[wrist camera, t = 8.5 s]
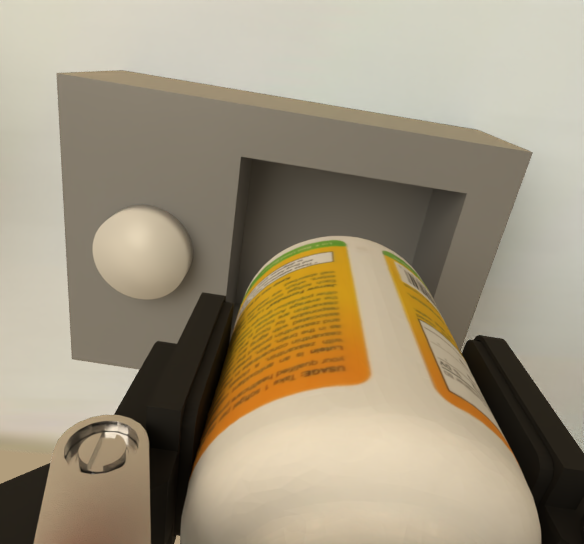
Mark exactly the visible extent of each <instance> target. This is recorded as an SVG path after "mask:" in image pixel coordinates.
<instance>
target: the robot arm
mask: <svg viewBox="0 0 584 544" xmlns="http://www.w3.org/2000/svg"><path fill="white" fill-rule="evenodd" d="M233 307H234V303H230V302H226V296H224V295H217V294H211V293H205V292H202V294H201V295H200V297H199V300H198V302H197V304H196V306H195V308H194V310H193V312H192V314H191V316H190V318H189V320H188V322H187V324H186V326H185V328H184V330H183V332H182V335H181V337H180V339H179V341H178V343H177V344H175V343H169V342H162V341H157V342H156V343H155V344H154V345H153V347H152V349H151V351H150V352H149V354H148V356H147V358H146V359H145V361H144V363H143V365H142V366H141V368H140V370H139V372H138V374H137V375H136V377H135V379H134V381H133V382H132V384H131V386H130V388H129V389H128V391H127V393H126V395H125V396H124V398H123V400H122V402H121V403H120V405H119V407H118V409H117V411H116V412H115V414H114V415H101V416H95V417H91V418H88V419H86V420H83V421H80V422H78V423H77V424H75V425H73V426H72V427H70V428H69V429H67V430H66V431H65V432H64V433H63V435H62V436H61V437H60V438H59V439H58V441H57V443H56V445H55V448H54V450H53V454H52V459H51V463H49V464H47V465H44V466H42V467H39V468H37V469H35V470H32V471H30V472H28V473H25V474H23V475H20V476H18V477H16V478H13V479H11V480H9V481H6V482H4V483H1V484H0V544H174V542H175V539H176V535H179V536H180V531H181V517H182V512H183V507H184V503H185V499H186V495H187V489H188V483H189V479H190V475H191V472H192V468H193V464H194V461H195V457H196V454H197V451H198V448H199V444H200V439H201V436H202V433H203V430H204V426H205V423H206V419H207V416H208V413H209V410H210V407H211V404H212V400H213V397H214V394H215V391H216V387H217V384H218V381H219V378H220V375H221V371H222V368H223V364H224V361H225V357H226V354H227V351H228V347H229V342H230V334H231V325H232V316H233ZM462 356H463V357H464V359H465V361H466V363H467V365H468V367H469V370H470V372H471V374H472V375H473V377H474V379H475V381H476V383H477V385H478V387H479V389H480V391H481V393H482V395H483V397H484V399H485V401H486V403H487V405H488V407H489V409H490V410H491V412H492V414H493V416H494V418H495V420H496V422H497V424H498V426H499V428H500V429H501V431H502V433H503V435H504V437H505V439H506V440H507V442H508V444H509V446H510V448H511V450H512V452H513V454H514V456H515V458H516V460H517V462H518V464H519V466H520V468H521V471H522V473H523V475H524V478H525V480H526V482H527V485H528V487H529V489H530V491H531V494H532V496H533V499H534V502H535V506H536V509H537V513H538V517H539V522H540V527H541V544H584V453H583V452H582V450H581V449H580V447H579V446H578V444H577V443H576V442H575V440H574V439H573V437H572V436H571V434H570V433H569V432H568V430H567V429H566V427H565V426H564V424H563V423H562V422H561V420H560V419H559V417H558V416H557V414H556V413H555V411H554V410H553V409H552V407H551V406H550V404H549V403H548V401H547V400H546V399H545V397H544V396H543V394H542V393H541V391H540V390H539V389H538V387H537V386H536V384H535V383H534V381H533V380H532V378H531V377H530V376H529V374H528V373H527V371H526V370H525V368H524V367H523V366H522V364H521V363H520V361H519V360H518V358H517V357H516V356H515V354H514V353H513V351H512V350H511V348H510V347H509V345H508V344H507V343H506V341H505V340H504V339H500V338H494V337H487V336H481V335H478V336H476V337H475V339H474V340H468V341H467V343H466V345H465V347H464V350H463V352H462Z"/></svg>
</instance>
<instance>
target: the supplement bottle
mask: <svg viewBox="0 0 584 544" xmlns="http://www.w3.org/2000/svg"><path fill="white" fill-rule="evenodd" d="M180 544H541V527H540V522H539V517H538V513H537V509H536V506H535V502H534V499H533V496H532V494H531V491H530V489H529V487H528V485H527V482H526V480H525V478H524V475H523V473H522V471H521V468H520V466H519V464H518V462H517V460H516V458H515V456H514V454H513V452H512V450H511V448H510V446H509V444H508V442H507V440H506V439H505V437H504V435H503V433H502V431H501V429H500V428H499V426H498V424H497V422H496V420H495V418H494V416H493V414H492V412H491V410H490V409H489V407H488V405H487V403H486V401H485V399H484V397H483V395H482V393H481V391H480V389H479V387H478V385H477V383H476V381H475V379H474V377H473V375H472V374H471V372H470V370H469V367H468V365H467V363H466V361H465V359H464V357H463V356H462V353H461V352H460V350H459V349H458V347H457V344H456V342H455V340H454V338H453V336H452V335H451V333H450V331H449V329H448V327H447V325H446V323H445V321H444V319H443V317H442V316H441V313H440V311H439V309H438V308H437V306H436V303H435V302H434V300H433V298H432V296H431V294H430V292H429V290H428V288H427V287H426V285H425V284H424V282H423V281H422V279H421V278H420V276H419V275H418V274H417V272H416V271H415V270H414V269H413V267H412V266H411V265H410V264H409V263H408V262H406V261H405V260H404V259H403V258H402V257H400V256H399V255H398V254H396V253H395V252H394V251H392V250H390V249H388V248H386V247H385V246H383V245H380V244H378V243H376V242H373V241H370V240H366V239H362V238H358V237H350V236H327V237H320V238H315V239H311V240H307V241H304V242H301V243H298V244H296V245H293V246H291V247H289V248H287V249H285V250H283V251H282V252H280V253H279V254H277V255H276V256H274V257H273V258H272V259H271V260H269V261H268V262H267V263H266V264H265V265H264V266H263V267H262V268H261V269H260V271H259V272H258V273H257V274H256V275H255V277H254V279H253V280H252V282H251V283H250V285H249V287H248V289H247V291H246V293H245V296H244V298H243V301H242V303H241V306H240V309H239V312H238V316H237V319H236V322H235V326H234V330H233V334H232V337H231V340H230V343H229V347H228V351H227V354H226V357H225V361H224V364H223V368H222V371H221V375H220V378H219V381H218V384H217V387H216V391H215V394H214V397H213V400H212V404H211V407H210V410H209V413H208V416H207V419H206V423H205V426H204V430H203V433H202V436H201V439H200V444H199V448H198V451H197V454H196V457H195V461H194V464H193V468H192V472H191V475H190V479H189V483H188V489H187V495H186V499H185V503H184V507H183V512H182V517H181V531H180Z"/></svg>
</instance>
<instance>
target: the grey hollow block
mask: <svg viewBox="0 0 584 544" xmlns="http://www.w3.org/2000/svg"><path fill="white" fill-rule="evenodd" d="M57 90H58V108H59V127H60V145H61V164H62V183H63V201H64V220H65V238H66V257H67V276H68V294H69V313H70V331H71V350H72V359H74V360H81V361H88V362H94V363H101V364H107V365H114V366H121V367H127V368H134V369H140V368H141V366H142V365H143V363H144V361H145V359H146V358H147V356H148V354H149V352H150V351H151V349H152V347H153V345H154V344H155V343H156V342H157V341H162V342H169V343H175V344H177V343H178V341H179V339H180V337H181V335H182V332H183V330H184V328H185V326H186V324H187V322H188V320H189V318H190V316H191V314H192V312H193V310H194V308H195V306H196V304H197V302H198V300H199V297H200V295H201V294H202V292H205V293H211V294H217V295H224V296H226V302H230V303H234V307H233V316H232V325H231V334H230V340H231V337H232V334H233V330H234V326H235V322H236V319H237V316H238V312H239V309H240V306H241V303H242V301H243V298H244V296H245V293H246V291H247V289H248V287H249V285H250V283H251V282H252V280H253V279H254V277H255V275H256V274H257V273H258V272H259V271H260V269H261V268H262V267H263V266H264V265H265V264H266V263H267V262H268V261H269V260H271V259H272V258H273V257H274V256H276V255H277V254H279V253H280V252H282V251H283V250H285V249H287V248H289V247H291V246H293V245H296V244H298V243H301V242H304V241H307V240H311V239H315V238H320V237H327V236H350V237H358V238H362V239H366V240H370V241H373V242H376V243H378V244H380V245H383V246H385V247H386V248H388V249H390V250H392V251H394V252H395V253H396V254H398V255H399V256H400V257H402V258H403V259H404V260H405V261H406V262H408V263H409V264H410V265H411V266H412V267H413V269H414V270H415V271H416V272H417V274H418V275H419V276H420V278H421V279H422V281H423V282H424V284H425V285H426V287H427V288H428V290H429V292H430V294H431V296H432V298H433V300H434V302H435V303H436V306H437V308H438V309H439V311H440V313H441V316H442V317H443V319H444V321H445V323H446V325H447V327H448V329H449V331H450V333H451V335H452V336H453V338H454V340H455V342H456V344H457V347H458V349H459V350H461V347H462V345H463V342H464V339H465V336H466V334H467V331H468V328H469V325H470V323H471V320H472V317H473V314H474V312H475V309H476V306H477V303H478V301H479V298H480V295H481V293H482V290H483V287H484V284H485V282H486V279H487V276H488V273H489V271H490V268H491V265H492V262H493V260H494V257H495V254H496V251H497V249H498V246H499V243H500V240H501V238H502V235H503V232H504V230H505V227H506V224H507V221H508V219H509V216H510V213H511V210H512V208H513V205H514V202H515V199H516V197H517V194H518V191H519V188H520V186H521V183H522V180H523V177H524V175H525V172H526V169H527V167H528V164H529V161H530V158H531V156H532V153H533V152H530V151H528V150H526V149H523V148H521V147H518V146H516V145H513V144H511V143H509V142H506V141H504V140H501V139H499V138H496V137H494V136H492V135H489V134H487V133H484V132H482V131H479V130H476V129H470V128H464V127H458V126H452V125H446V124H440V123H434V122H428V121H422V120H416V119H410V118H404V117H398V116H392V115H386V114H380V113H374V112H368V111H362V110H356V109H350V108H344V107H338V106H332V105H326V104H320V103H314V102H308V101H302V100H296V99H290V98H284V97H278V96H272V95H266V94H260V93H254V92H249V91H243V90H237V89H231V88H225V87H219V86H213V85H207V84H201V83H195V82H189V81H183V80H177V79H171V78H165V77H159V76H153V75H147V74H141V73H135V72H129V71H123V70H119V71H95V72H70V73H57ZM229 343H230V342H229Z"/></svg>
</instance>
